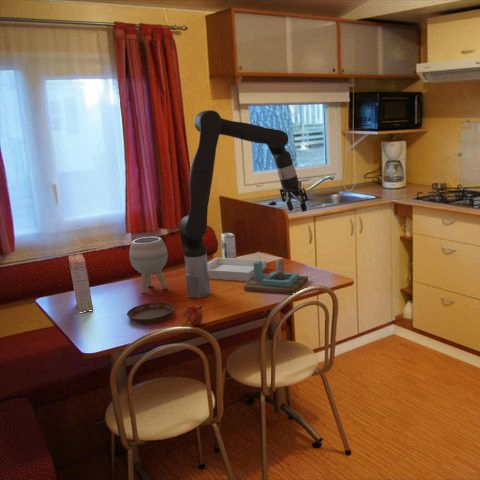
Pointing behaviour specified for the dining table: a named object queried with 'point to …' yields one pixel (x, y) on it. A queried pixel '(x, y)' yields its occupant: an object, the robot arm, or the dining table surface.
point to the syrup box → (228, 245)
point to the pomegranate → (193, 315)
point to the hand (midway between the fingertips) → (298, 210)
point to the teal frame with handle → (273, 277)
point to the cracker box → (80, 282)
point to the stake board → (259, 287)
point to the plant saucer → (150, 312)
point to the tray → (233, 269)
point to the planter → (148, 259)
